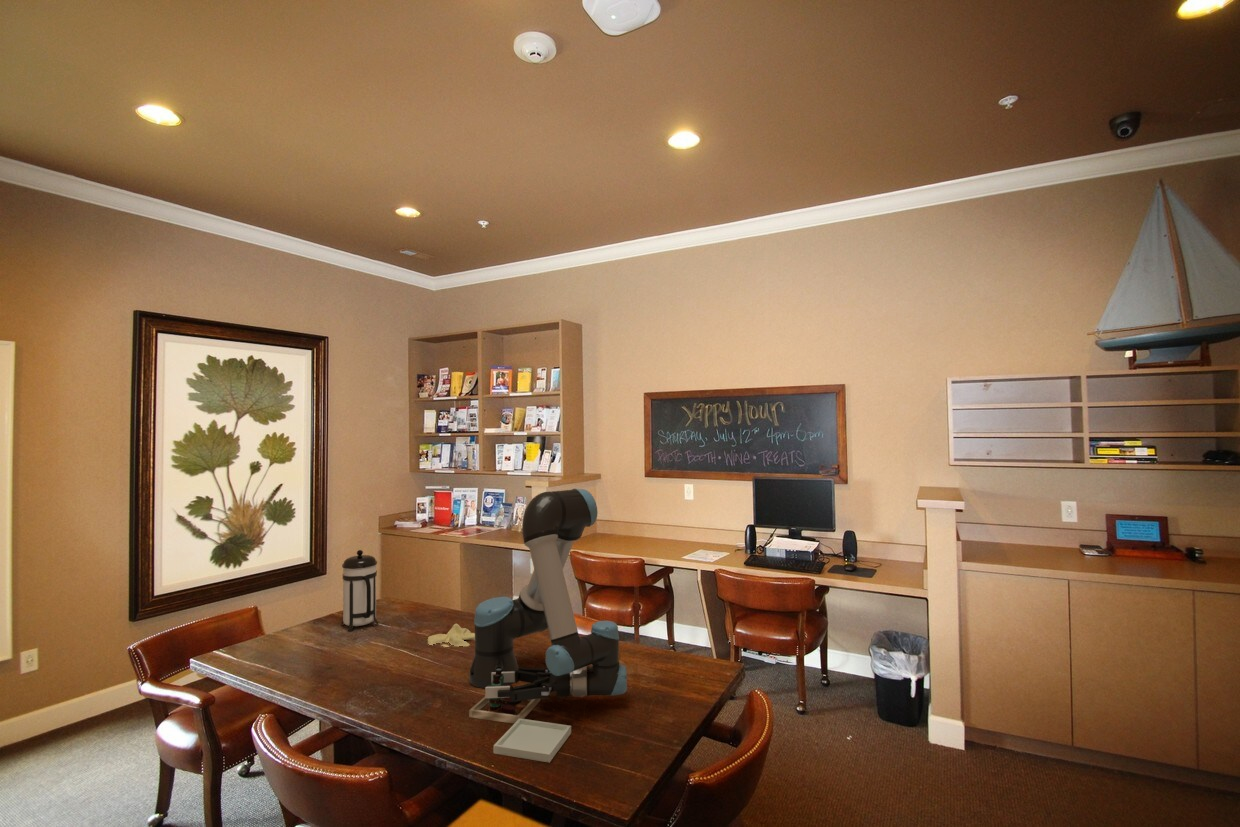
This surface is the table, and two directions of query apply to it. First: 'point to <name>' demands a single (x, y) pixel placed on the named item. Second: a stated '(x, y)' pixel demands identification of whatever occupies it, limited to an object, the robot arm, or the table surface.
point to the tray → (532, 740)
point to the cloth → (453, 637)
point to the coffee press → (359, 590)
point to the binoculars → (496, 702)
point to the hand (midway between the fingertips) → (488, 684)
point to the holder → (501, 717)
